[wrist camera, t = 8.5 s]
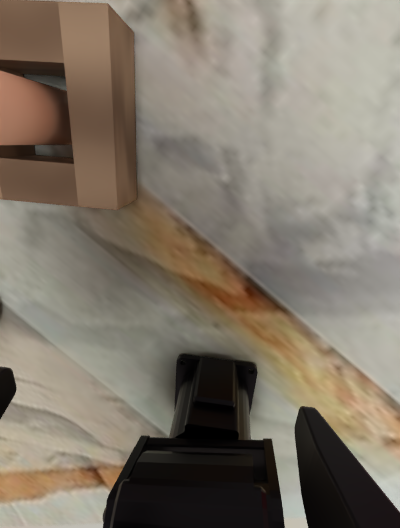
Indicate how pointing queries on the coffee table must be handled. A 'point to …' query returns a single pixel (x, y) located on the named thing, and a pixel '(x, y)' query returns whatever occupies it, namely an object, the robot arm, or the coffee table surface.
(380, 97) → the coffee table surface
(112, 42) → the socket
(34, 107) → the peg
